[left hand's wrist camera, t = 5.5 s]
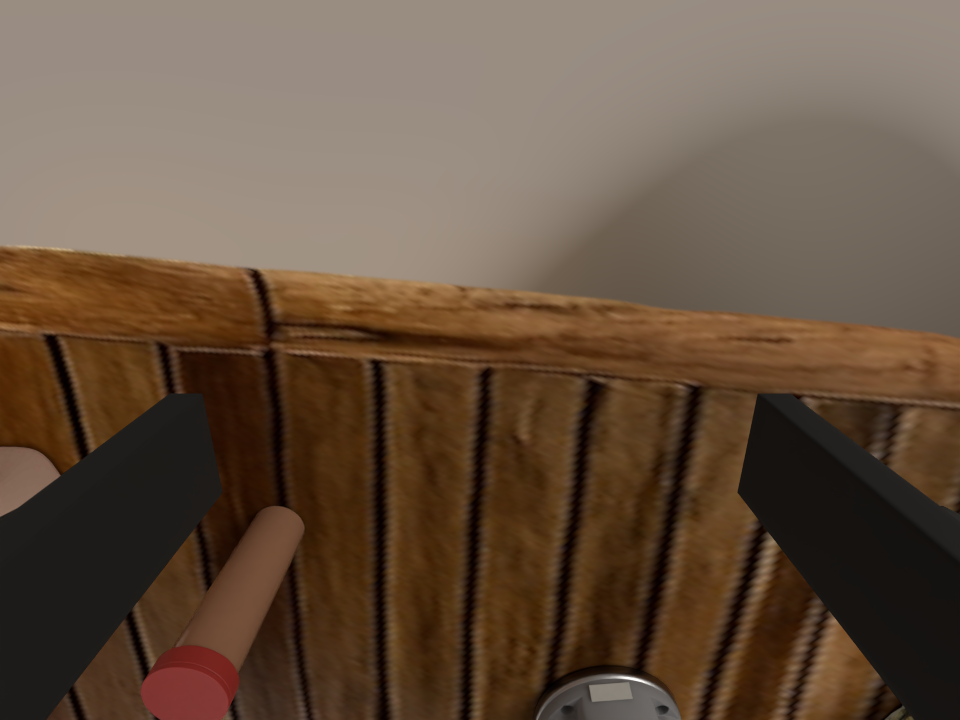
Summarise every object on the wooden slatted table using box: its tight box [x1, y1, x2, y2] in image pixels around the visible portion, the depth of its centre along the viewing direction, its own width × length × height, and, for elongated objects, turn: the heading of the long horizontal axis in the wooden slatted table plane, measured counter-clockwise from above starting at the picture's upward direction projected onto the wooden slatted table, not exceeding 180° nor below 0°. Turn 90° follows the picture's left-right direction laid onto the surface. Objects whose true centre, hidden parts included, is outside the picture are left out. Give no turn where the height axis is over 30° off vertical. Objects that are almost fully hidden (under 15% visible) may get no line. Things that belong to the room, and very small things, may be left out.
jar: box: [172, 506, 304, 674], centre depth 40 cm, size 5×5×16 cm
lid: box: [141, 645, 239, 720], centre depth 33 cm, size 5×5×2 cm
